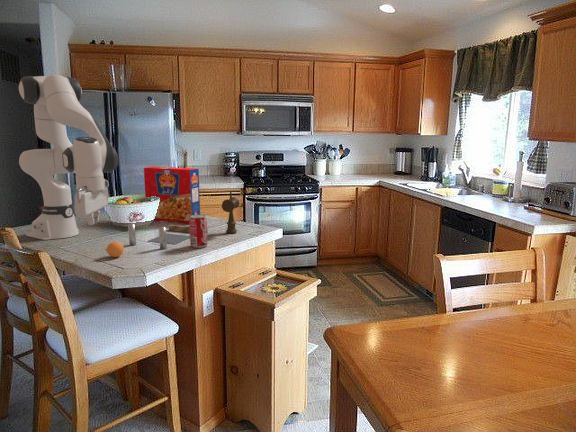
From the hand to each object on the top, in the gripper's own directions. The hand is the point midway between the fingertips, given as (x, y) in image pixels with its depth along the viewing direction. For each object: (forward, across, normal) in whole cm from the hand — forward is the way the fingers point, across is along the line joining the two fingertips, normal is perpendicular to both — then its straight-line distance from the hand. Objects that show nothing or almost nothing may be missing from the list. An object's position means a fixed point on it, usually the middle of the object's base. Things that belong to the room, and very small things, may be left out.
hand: (93, 223), depth 150 cm
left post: (+15, +26, -5) cm, 30 cm away
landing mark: (+15, +35, -18) cm, 42 cm away
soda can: (+15, +23, -33) cm, 43 cm away
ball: (+12, +9, -4) cm, 15 cm away
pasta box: (+15, +73, -11) cm, 75 cm away
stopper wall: (+15, +48, -24) cm, 56 cm away
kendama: (+15, +46, -44) cm, 66 cm away
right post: (+15, +20, -19) cm, 31 cm away
